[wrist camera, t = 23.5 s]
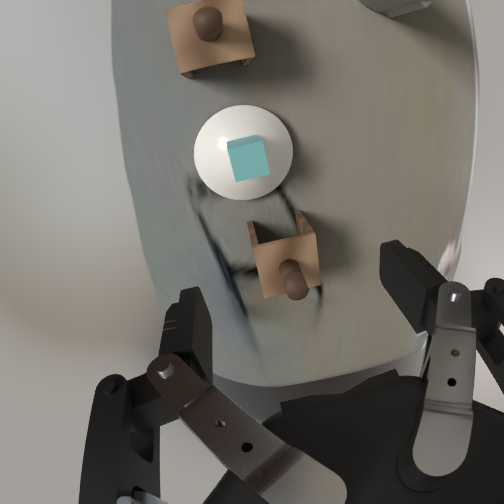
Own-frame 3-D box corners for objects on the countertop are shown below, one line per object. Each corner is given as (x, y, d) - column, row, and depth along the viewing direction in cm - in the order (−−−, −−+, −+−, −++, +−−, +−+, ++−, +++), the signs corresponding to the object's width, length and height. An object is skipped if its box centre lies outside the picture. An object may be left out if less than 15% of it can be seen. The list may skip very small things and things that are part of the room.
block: (256, 134, 37) (262, 140, 31) (262, 163, 38) (270, 174, 33) (226, 141, 37) (227, 149, 31) (233, 170, 39) (235, 182, 33)
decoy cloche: (300, 210, 44) (328, 254, 32) (306, 255, 48) (332, 308, 36) (247, 222, 44) (257, 271, 32) (257, 267, 48) (269, 323, 36)
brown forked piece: (236, 12, 29) (243, -24, 17) (248, 64, 33) (262, 48, 21) (175, 26, 29) (155, -5, 18) (187, 78, 33) (171, 68, 22)
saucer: (309, 141, 39) (311, 142, 38) (254, 213, 43) (255, 217, 42) (230, 86, 34) (231, 86, 33) (176, 166, 39) (175, 168, 38)
